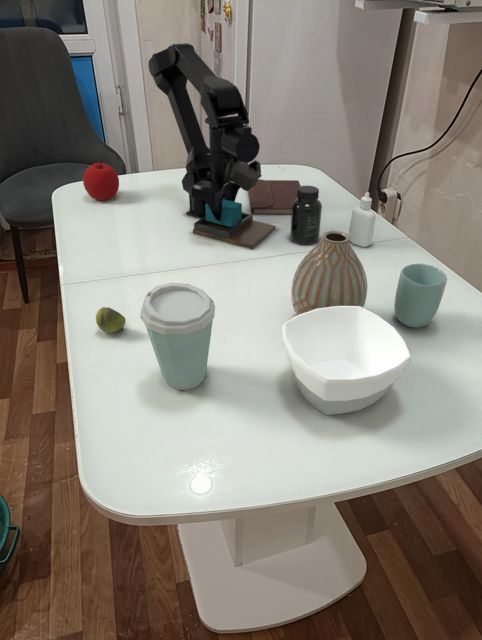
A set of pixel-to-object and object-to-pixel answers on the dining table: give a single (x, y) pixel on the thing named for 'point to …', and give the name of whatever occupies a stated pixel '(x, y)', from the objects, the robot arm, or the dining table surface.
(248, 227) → the brown wooden tray
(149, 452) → the dining table surface
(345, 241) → the vase
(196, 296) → the disposable coffee cup
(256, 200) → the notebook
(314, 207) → the supplement bottle
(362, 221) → the eye dropper bottle
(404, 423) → the dining table surface
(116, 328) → the lime
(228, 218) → the block
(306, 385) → the bowl
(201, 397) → the dining table surface
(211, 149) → the robot arm
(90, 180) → the apple
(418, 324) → the cup
